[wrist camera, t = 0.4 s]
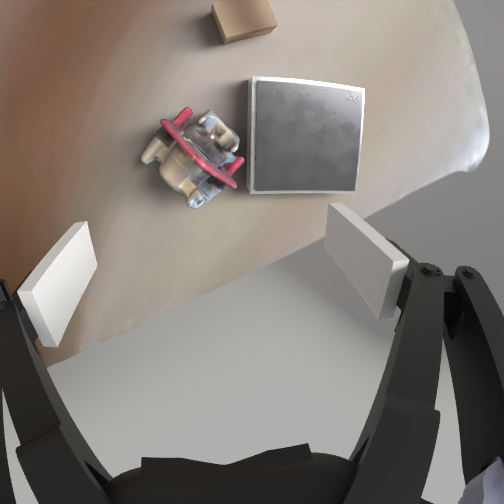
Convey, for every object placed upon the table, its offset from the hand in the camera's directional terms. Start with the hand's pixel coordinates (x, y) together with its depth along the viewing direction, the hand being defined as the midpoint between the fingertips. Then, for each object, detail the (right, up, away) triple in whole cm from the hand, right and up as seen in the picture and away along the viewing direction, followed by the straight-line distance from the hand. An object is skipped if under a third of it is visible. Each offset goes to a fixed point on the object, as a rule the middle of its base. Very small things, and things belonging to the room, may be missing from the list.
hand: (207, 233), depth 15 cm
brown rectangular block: (+1, +27, +13) cm, 30 cm away
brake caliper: (-5, +12, +20) cm, 24 cm away
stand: (+9, +14, +21) cm, 27 cm away
